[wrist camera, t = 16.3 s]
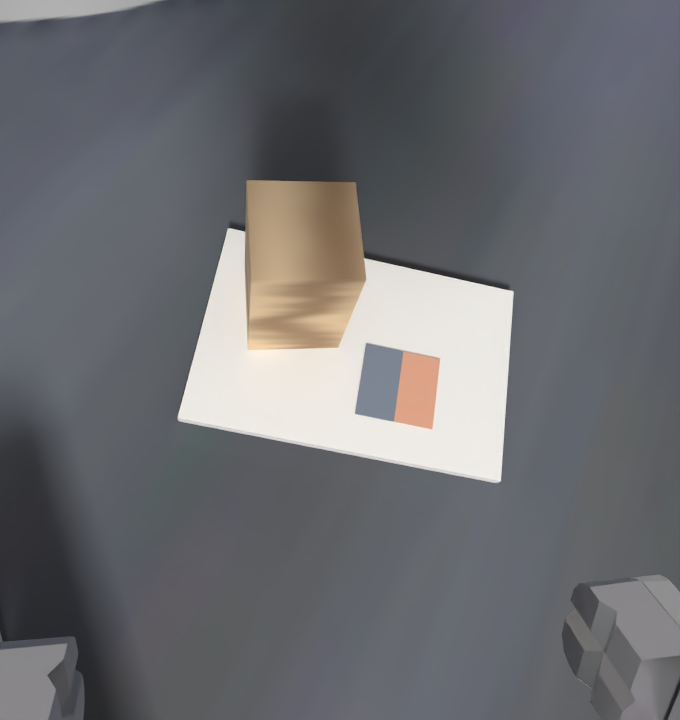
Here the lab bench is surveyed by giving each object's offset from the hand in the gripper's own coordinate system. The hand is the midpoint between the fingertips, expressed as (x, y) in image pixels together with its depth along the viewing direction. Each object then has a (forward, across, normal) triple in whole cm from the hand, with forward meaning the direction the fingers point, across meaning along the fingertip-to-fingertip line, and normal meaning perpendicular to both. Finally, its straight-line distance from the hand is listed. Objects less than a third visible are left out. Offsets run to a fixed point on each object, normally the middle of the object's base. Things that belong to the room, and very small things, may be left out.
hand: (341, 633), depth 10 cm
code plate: (+31, -7, +10) cm, 33 cm away
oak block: (+33, -3, +7) cm, 34 cm away
